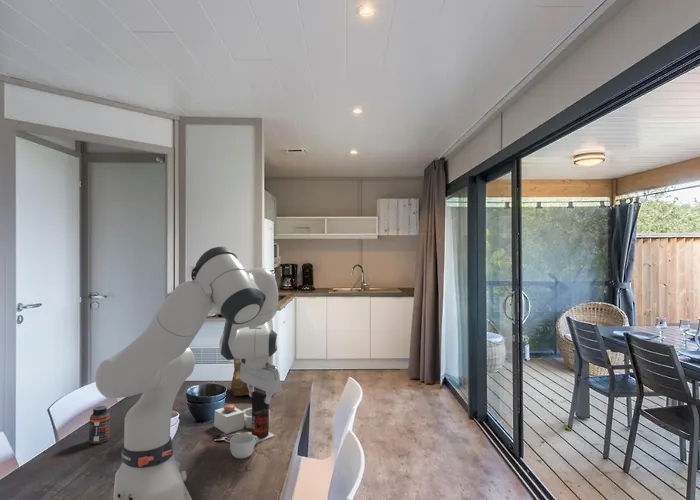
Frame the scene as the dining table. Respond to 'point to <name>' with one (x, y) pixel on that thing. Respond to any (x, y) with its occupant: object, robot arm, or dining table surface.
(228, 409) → the plunger
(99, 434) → the supplement bottle
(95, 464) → the dining table surface
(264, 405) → the deodorant
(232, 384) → the rough brown rock
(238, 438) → the teacup
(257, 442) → the pad
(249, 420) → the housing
